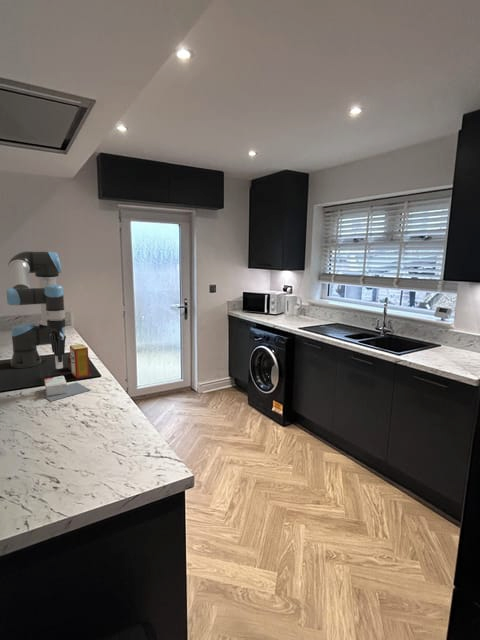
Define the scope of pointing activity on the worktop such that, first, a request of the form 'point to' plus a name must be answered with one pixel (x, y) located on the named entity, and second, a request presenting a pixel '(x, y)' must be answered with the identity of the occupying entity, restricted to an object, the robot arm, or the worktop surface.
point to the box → (69, 363)
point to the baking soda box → (79, 360)
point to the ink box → (55, 385)
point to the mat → (71, 390)
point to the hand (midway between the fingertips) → (59, 368)
